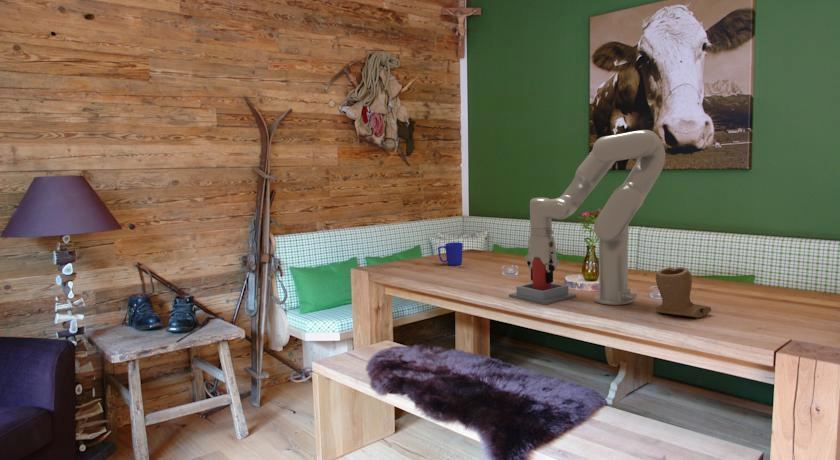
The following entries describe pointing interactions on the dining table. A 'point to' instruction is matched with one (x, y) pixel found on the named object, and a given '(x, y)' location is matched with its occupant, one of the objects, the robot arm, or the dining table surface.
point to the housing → (542, 294)
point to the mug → (452, 253)
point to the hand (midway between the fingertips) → (541, 280)
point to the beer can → (539, 275)
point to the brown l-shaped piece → (678, 293)
